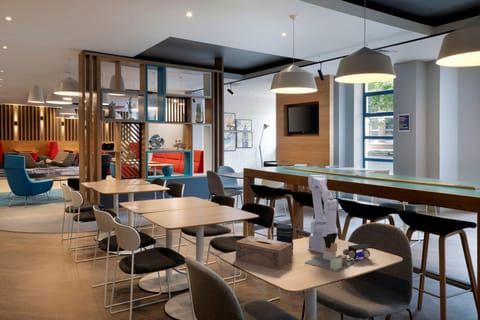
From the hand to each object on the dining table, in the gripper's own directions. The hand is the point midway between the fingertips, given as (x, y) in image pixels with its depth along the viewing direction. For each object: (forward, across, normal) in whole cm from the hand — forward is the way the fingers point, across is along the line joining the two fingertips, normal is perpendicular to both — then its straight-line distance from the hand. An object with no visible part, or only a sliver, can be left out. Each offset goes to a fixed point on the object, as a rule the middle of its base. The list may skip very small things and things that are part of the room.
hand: (329, 247), depth 203 cm
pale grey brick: (+6, 0, 0) cm, 6 cm away
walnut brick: (+6, -4, -8) cm, 11 cm away
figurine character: (+7, +10, -11) cm, 17 cm away
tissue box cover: (+7, -26, +24) cm, 37 cm away
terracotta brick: (+2, 0, 0) cm, 2 cm away
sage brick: (+6, -10, -9) cm, 15 cm away
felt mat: (+7, -4, -3) cm, 9 cm away
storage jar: (+7, -6, +24) cm, 26 cm away
